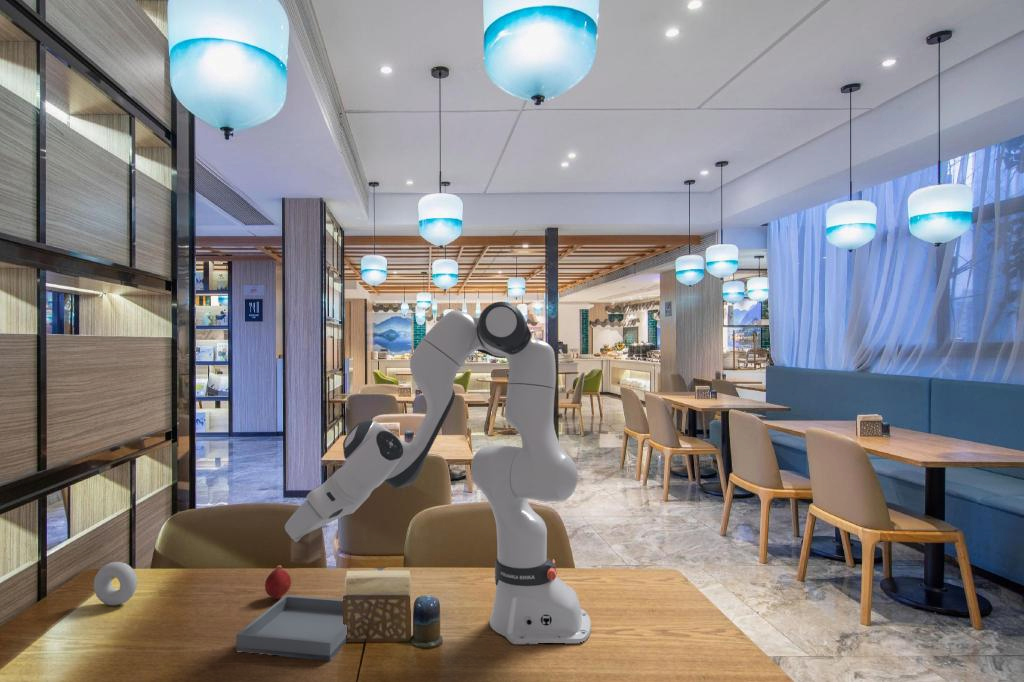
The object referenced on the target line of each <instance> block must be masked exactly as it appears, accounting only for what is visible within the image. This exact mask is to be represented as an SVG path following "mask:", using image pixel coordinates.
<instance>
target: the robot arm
mask: <svg viewBox="0 0 1024 682" xmlns="http://www.w3.org/2000/svg"><path fill="white" fill-rule="evenodd" d="M523 314H524V313H522V311H521V310H520V309H519V307H517V306H515V304H513V303H510V302H507V301H496V302H493V303H490V304H489V305H487V306H486V307H485V308H484V309H483V310H482V312H481V313H480V314H479V317H475V316H472V315H471V314H469V313H467V312H465V311H463V310H458V309H457V310H456V309H455V310H451V311H449V312H447V313H446V314H445V315H444V316H442V317H441V318H440V319H439V320H438V321H437V322H436V323H435V324H434V325H433V326H432V327H431V328H430V330H429V331H428V332H427V333H426V334H425V335H424V337H423V338H422V339H421V340H420V341H419V343H418V345H417V346H416V347H415V348H414V351H413V352H412V354H411V355H410V359H409V369H410V372H411V376H412V378H413V380H414V382H415V383H416V385H417V387H418V388H419V390H420V392H421V394H422V395H423V397H424V399H425V402H426V412H425V414H424V418H423V419H422V421H421V423H420V425H419V427H418V429H417V431H416V433H415V435H414V436H413V438H412V440H411V441H410V442H406V441H405V440H403V439H402V438H400V436H397V435H396V434H395V433H393V432H392V431H390V430H389V429H388V428H387V427H385V426H383V425H382V424H380V423H378V421H375V420H373V419H367V420H363V421H360V422H358V423H356V425H355V426H354V427H353V429H352V430H350V432H349V433H348V434H347V435H346V437H345V438H344V439H343V443H342V449H343V456H344V457H343V458H344V459H345V460H346V462H345V463H344V465H342V466H341V467H340V468H338V469H337V470H336V471H335V472H334V473H333V474H332V475H331V476H330V477H328V478H327V480H325V482H324V483H321V484H320V485H318V486H317V487H316V488H314V489H312V490H311V491H309V493H308V494H307V495H306V499H307V500H305V501H304V502H302V503H301V505H300V506H299V507H298V508H296V510H295V511H294V512H293V514H291V515H292V516H290V517H289V519H288V520H287V521H286V523H285V525H284V529H285V532H286V533H287V534H288V535H289V537H290V539H291V538H292V539H293V540H294V541H295V542H298V541H300V540H301V539H302V538H303V537H304V536H305V535H306V534H308V533H310V532H312V531H314V530H316V529H318V528H320V527H322V528H323V527H324V526H326V525H328V524H331V522H332V523H333V522H334V521H337V520H338V519H340V518H342V517H344V516H347V515H351V514H354V513H355V512H357V511H356V510H357V509H358V508H360V507H361V506H362V504H363V503H365V502H366V500H367V499H368V498H369V497H370V495H371V494H372V492H373V491H374V490H375V489H377V488H378V487H380V486H381V485H382V484H383V483H384V482H385V483H386V484H387V485H389V486H390V487H391V488H393V489H400V488H401V489H402V488H405V487H408V486H411V485H413V483H414V482H415V481H416V480H417V479H418V477H419V475H420V473H421V472H422V469H423V466H424V465H425V462H426V459H427V457H428V454H429V452H430V450H431V448H432V446H433V444H434V443H435V440H436V439H437V437H438V435H439V433H440V430H441V428H442V427H443V425H444V424H445V421H446V419H447V417H448V415H449V413H450V410H451V408H452V407H453V404H454V401H455V396H456V392H455V390H454V383H455V380H456V379H455V378H456V377H457V374H458V372H459V370H460V369H461V368H462V367H463V365H464V363H465V362H466V360H468V358H469V357H470V356H471V355H472V354H473V353H475V351H476V352H478V353H482V354H485V355H488V356H490V357H494V358H498V359H506V360H507V363H508V368H509V369H508V380H507V387H506V388H507V389H506V397H505V405H504V417H505V420H506V422H507V424H509V426H510V427H512V428H513V429H514V430H515V431H517V432H518V433H519V435H520V438H521V445H522V446H521V447H519V446H512V445H503V444H498V445H490V446H483V447H481V448H479V449H478V450H477V451H476V452H475V454H474V456H473V458H472V460H471V464H470V475H471V476H470V477H471V480H472V481H473V483H474V485H475V486H476V487H477V488H478V489H479V491H481V492H482V493H483V495H484V497H485V498H486V499H487V501H488V503H489V506H490V509H491V511H492V513H493V517H494V520H495V525H496V526H495V527H496V539H497V541H496V542H497V546H496V547H497V556H496V559H495V562H494V581H495V594H494V600H493V606H492V611H491V614H490V617H489V625H490V628H491V630H493V631H494V632H496V633H498V634H499V635H501V636H503V637H505V638H506V639H507V640H508V641H509V642H510V643H511V644H513V645H527V644H526V643H529V644H528V645H539V644H538V643H565V644H581V643H580V642H582V643H584V642H586V640H588V639H589V637H590V635H591V630H592V624H591V623H592V621H591V618H590V615H589V613H588V612H587V611H586V610H585V609H583V608H581V604H580V601H579V597H578V594H577V593H576V591H575V590H574V588H572V587H571V586H569V585H568V584H566V583H565V582H564V581H563V580H561V579H560V578H559V577H558V576H557V572H558V571H557V570H556V569H557V568H556V567H557V566H556V561H555V559H554V558H553V559H552V560H551V559H550V558H548V555H547V551H548V549H547V548H548V547H547V546H548V542H547V540H548V536H547V535H548V530H547V525H546V522H545V520H544V519H543V518H542V517H541V515H539V514H538V513H537V512H535V510H534V509H533V508H532V506H531V505H530V503H529V501H528V500H532V501H533V500H534V501H539V502H546V503H547V502H548V503H549V502H551V503H552V502H562V501H567V500H568V499H569V498H570V497H571V496H572V495H573V493H574V492H575V490H576V488H577V485H578V481H579V473H578V469H577V468H578V467H577V465H576V463H575V461H574V460H573V459H572V458H571V456H569V454H568V453H567V452H566V451H565V449H563V446H562V445H561V442H560V441H559V439H558V437H557V433H556V429H555V423H554V412H555V411H554V410H555V397H556V396H555V394H556V381H557V378H556V377H557V371H556V356H555V350H554V348H553V347H552V346H551V345H550V344H549V343H548V342H546V341H544V340H540V339H535V338H532V332H531V330H530V327H529V326H528V323H527V321H526V319H525V316H524V315H523ZM583 641H584V642H583Z"/></svg>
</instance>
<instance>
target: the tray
mask: <svg viewBox="0 0 1024 682" xmlns="http://www.w3.org/2000/svg"><path fill="white" fill-rule="evenodd" d="M343 600H344V598H343V599H340V598H328V597H315V596H304V595H303V596H302V595H290V594H284V595H283V596H282V597H281V598H280V599H278V601H277V602H275V603H274V604H273V605H272V606H271V607H269V608H267V610H265V611H264V612H263V613H261V614H260V615H259V616H258V617H256V618H255V619H254V620H253V621H252V622H250V623H249V624H247V626H245V627H244V628H243V629H241V630H240V631H238V632H237V633H236V634H235V635H236V638H235V641H236V642H235V643H236V645H235V646H236V647H235V648H236V650H235V652H236V651H243V652H252V653H263V654H270V655H269V656H272V655H279V656H278V657H283V656H284V658H296V659H305V660H315V661H317V660H318V661H326V662H331V661H332V659H333V658H334V657H335V656H336V655H337V653H339V651H340V650H341V649H342V648H343V646H344V645H345V644H346V643H347V642H346V635H347V625H346V624H345V625H344V624H343Z"/></svg>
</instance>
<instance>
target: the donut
mask: <svg viewBox="0 0 1024 682" xmlns="http://www.w3.org/2000/svg"><path fill="white" fill-rule="evenodd" d="M113 578H116V579H117V580H118V582H119V588H118V589H116V588H114V587H113V585H112V579H113ZM137 586H138V576H137V574H136V572H135V570H134V569H133V567H131V565H129V564H127V563H125V562H121V561H113V562H109V563H107V564H105V565H104V566H102V567H101V568H100V569H99V570H98V571H97V573H96V575H95V577H94V581H93V591H94V593H95V596H96V598H97V599H98V600H99V601H100V602H101V603H103V604H105V605H108V606H112V607H113V606H120V605H122V604H125V603H127V602H128V601H129V600H130V599H132V597H133V595H134V594H135V592H136V590H137V588H138V587H137Z"/></svg>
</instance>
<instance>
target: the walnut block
mask: <svg viewBox="0 0 1024 682" xmlns="http://www.w3.org/2000/svg"><path fill="white" fill-rule="evenodd" d="M292 515H293V514H291V516H292ZM291 516H290V517H291ZM322 536H323V527H320V528H318V529H316V530H314V531H312V532H310V533H308V534H306V535H305V536H304V537H303V538H302V539H301V540H300V541H298V542H295V541H294V540H293V539H292V538H291V537H290V562H293V563H299V564H307V565H310V564H311V563H313V562H315V561H316V560H318V559H319V558H321V557H322V546H323V545H322V543H323V542H322V541H323V537H322Z"/></svg>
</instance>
